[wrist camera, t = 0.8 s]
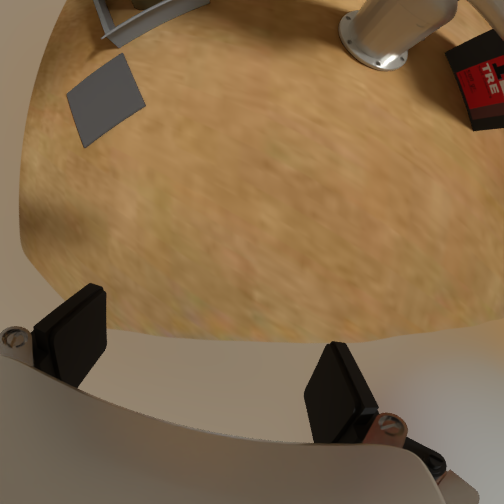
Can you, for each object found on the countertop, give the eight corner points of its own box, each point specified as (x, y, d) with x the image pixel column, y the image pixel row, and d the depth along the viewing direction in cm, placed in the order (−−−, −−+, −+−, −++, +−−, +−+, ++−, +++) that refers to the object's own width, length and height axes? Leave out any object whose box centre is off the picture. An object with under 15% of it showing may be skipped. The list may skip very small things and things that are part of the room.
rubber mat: (123, 53, 31) (122, 52, 31) (146, 106, 34) (145, 105, 33) (67, 94, 32) (66, 94, 32) (85, 148, 35) (84, 147, 35)
